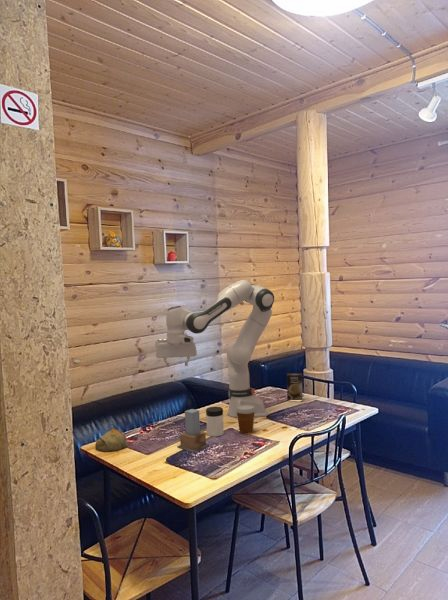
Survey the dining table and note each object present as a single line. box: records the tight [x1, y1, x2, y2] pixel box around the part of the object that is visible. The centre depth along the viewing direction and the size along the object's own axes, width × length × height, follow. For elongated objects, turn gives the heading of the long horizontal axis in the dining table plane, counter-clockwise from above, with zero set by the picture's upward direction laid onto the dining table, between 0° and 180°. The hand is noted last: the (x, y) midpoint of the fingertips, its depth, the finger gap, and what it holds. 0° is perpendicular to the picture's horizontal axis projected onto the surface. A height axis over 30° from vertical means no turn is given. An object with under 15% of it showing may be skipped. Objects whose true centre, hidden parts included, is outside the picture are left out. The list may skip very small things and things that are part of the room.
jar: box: [205, 406, 225, 438], centre depth 212 cm, size 9×8×12 cm
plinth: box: [176, 430, 210, 454], centre depth 196 cm, size 10×10×6 cm
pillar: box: [184, 408, 201, 436], centre depth 196 cm, size 4×4×10 cm
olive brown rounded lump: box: [94, 428, 129, 452], centre depth 199 cm, size 14×12×8 cm
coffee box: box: [286, 372, 304, 401], centre depth 264 cm, size 9×6×16 cm
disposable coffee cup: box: [236, 405, 255, 435], centre depth 213 cm, size 10×10×12 cm
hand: (177, 366), depth 222 cm, fingers open, 8 cm apart
